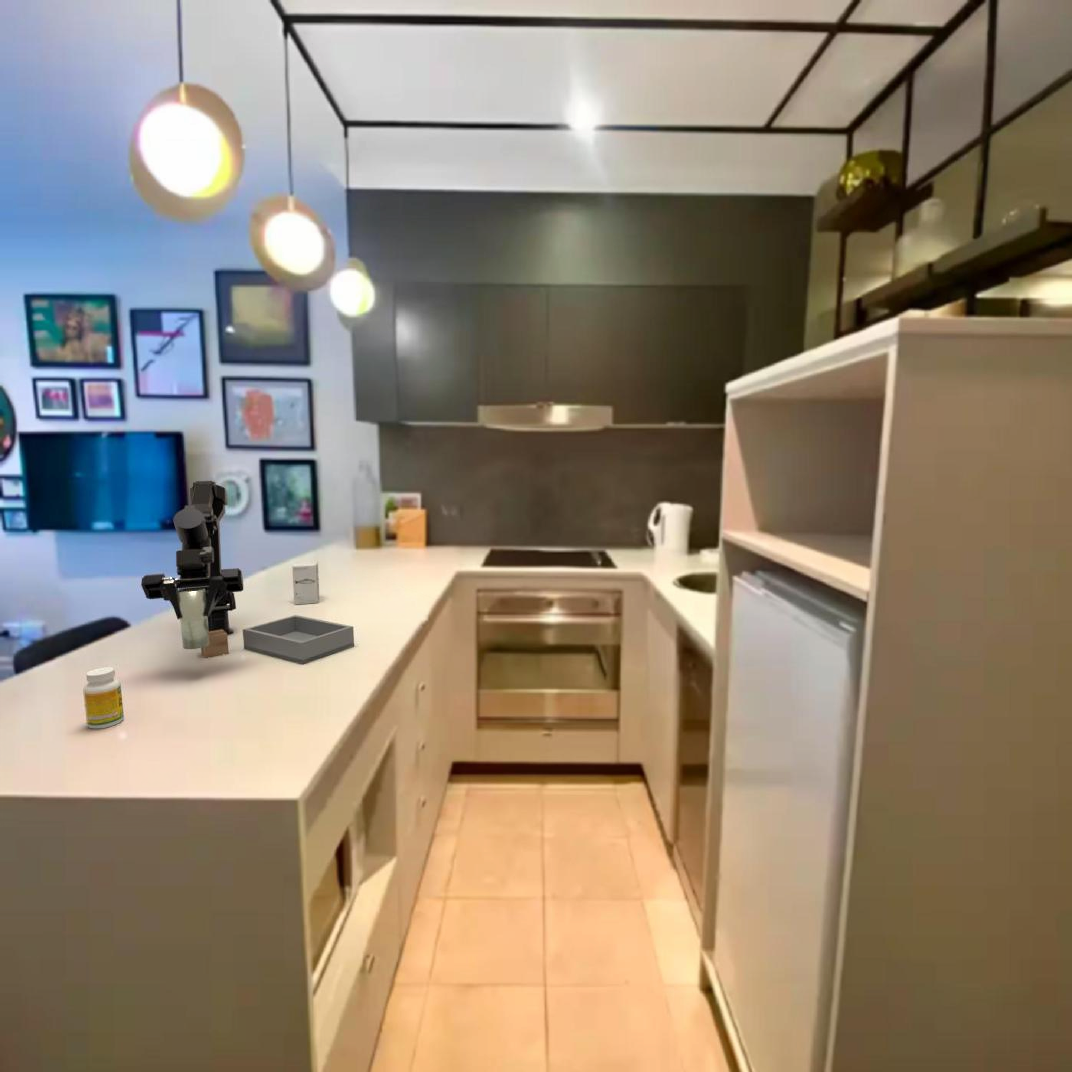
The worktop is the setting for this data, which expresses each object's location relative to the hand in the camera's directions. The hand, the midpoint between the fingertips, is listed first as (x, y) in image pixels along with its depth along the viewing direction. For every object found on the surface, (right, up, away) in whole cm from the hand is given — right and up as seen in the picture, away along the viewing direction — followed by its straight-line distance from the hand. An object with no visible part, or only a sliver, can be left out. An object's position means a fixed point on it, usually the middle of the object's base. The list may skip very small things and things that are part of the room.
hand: (192, 616), depth 126 cm
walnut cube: (-5, -11, +18) cm, 22 cm away
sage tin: (0, -6, +2) cm, 7 cm away
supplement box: (-2, -5, +69) cm, 69 cm away
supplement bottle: (-5, -16, -19) cm, 25 cm away
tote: (+14, -11, +22) cm, 28 cm away
